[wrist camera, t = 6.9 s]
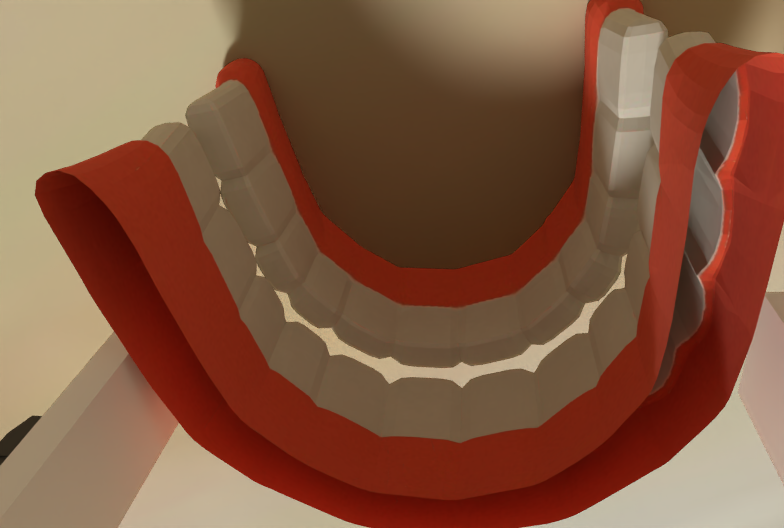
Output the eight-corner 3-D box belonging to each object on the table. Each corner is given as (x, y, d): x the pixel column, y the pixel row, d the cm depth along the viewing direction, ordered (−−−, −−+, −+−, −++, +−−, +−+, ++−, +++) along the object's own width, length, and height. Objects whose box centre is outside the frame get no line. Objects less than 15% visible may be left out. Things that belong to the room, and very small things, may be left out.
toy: (294, 353, 23) (217, 555, 16) (192, 64, 17) (13, 178, 11) (662, 320, 20) (758, 543, 13) (668, -28, 15) (829, 44, 8)
